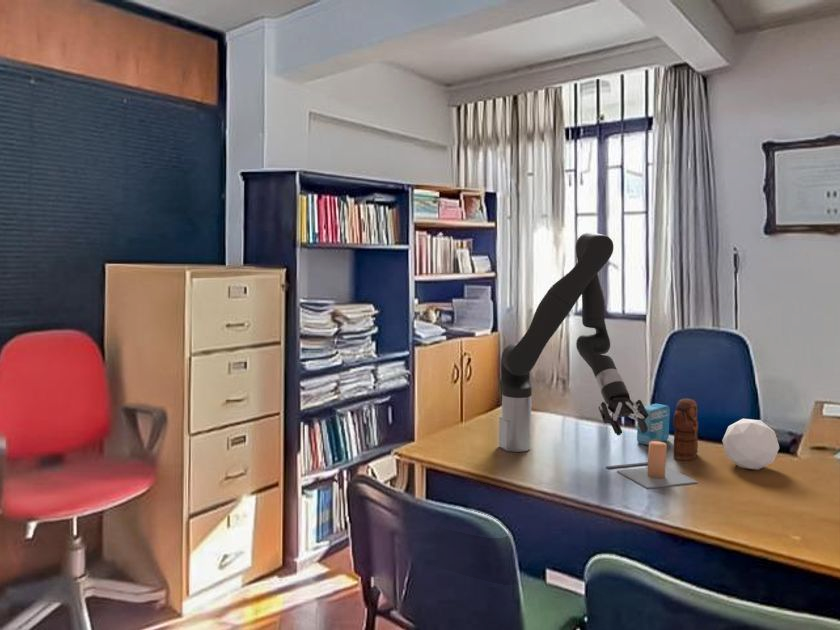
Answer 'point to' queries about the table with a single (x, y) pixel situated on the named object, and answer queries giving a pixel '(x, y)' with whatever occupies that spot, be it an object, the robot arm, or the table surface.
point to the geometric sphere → (750, 444)
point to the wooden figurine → (685, 430)
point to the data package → (655, 424)
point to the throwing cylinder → (657, 459)
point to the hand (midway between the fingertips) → (632, 433)
